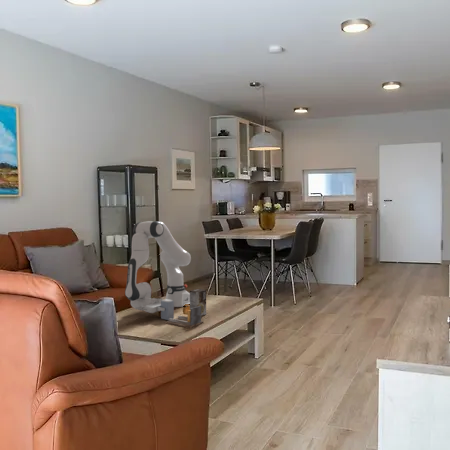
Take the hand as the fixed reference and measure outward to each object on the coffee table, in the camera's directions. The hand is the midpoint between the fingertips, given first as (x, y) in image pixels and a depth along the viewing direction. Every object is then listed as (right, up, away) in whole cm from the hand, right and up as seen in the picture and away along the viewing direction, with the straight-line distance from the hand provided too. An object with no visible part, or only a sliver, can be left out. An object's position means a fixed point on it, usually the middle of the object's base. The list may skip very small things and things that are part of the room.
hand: (168, 308), depth 317 cm
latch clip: (+15, -7, -10) cm, 20 cm away
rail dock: (+11, -8, -7) cm, 15 cm away
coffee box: (+18, -7, +14) cm, 23 cm away
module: (-1, -6, +1) cm, 7 cm away
